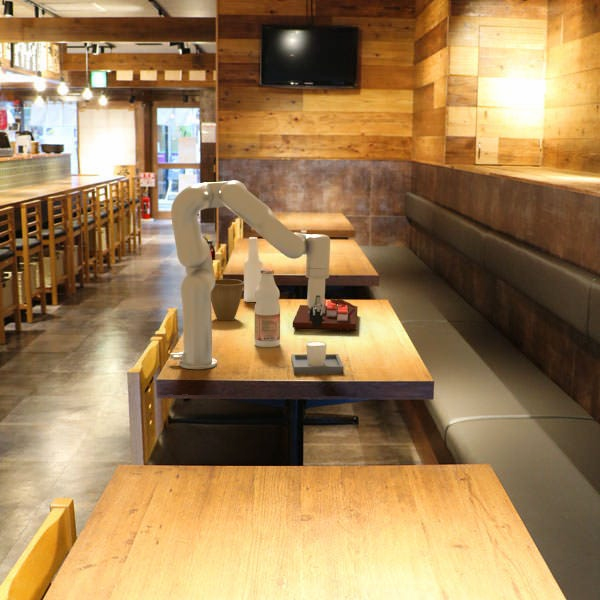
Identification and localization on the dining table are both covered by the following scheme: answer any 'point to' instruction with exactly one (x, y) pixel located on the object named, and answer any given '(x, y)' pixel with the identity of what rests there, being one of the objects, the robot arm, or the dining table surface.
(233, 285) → the plant pot
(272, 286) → the fruit juice
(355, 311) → the sushi
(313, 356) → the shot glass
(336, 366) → the serving tray
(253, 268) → the alcohol
